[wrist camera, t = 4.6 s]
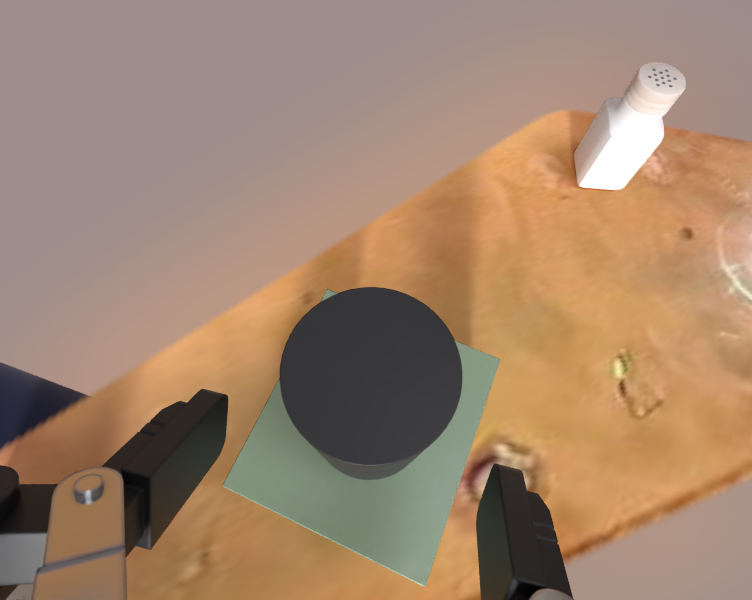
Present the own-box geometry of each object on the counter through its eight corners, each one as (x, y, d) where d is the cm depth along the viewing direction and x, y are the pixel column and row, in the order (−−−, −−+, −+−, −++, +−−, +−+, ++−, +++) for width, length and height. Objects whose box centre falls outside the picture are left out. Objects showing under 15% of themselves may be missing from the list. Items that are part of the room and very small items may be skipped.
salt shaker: (575, 190, 38) (636, 97, 29) (570, 153, 39) (627, 55, 31) (622, 193, 38) (699, 101, 29) (616, 157, 39) (686, 59, 31)
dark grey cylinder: (291, 449, 21) (244, 416, 13) (342, 346, 23) (329, 262, 15) (401, 501, 20) (424, 500, 12) (443, 389, 23) (486, 325, 14)
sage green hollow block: (259, 489, 28) (221, 486, 21) (336, 336, 32) (327, 288, 25) (409, 563, 26) (425, 587, 19) (468, 392, 31) (500, 359, 23)
